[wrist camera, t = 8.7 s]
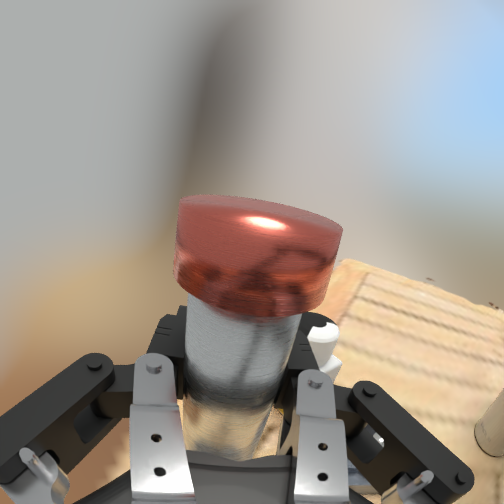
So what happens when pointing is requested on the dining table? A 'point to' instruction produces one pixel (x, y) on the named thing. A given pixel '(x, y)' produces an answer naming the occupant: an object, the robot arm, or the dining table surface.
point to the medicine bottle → (321, 342)
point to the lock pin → (244, 310)
